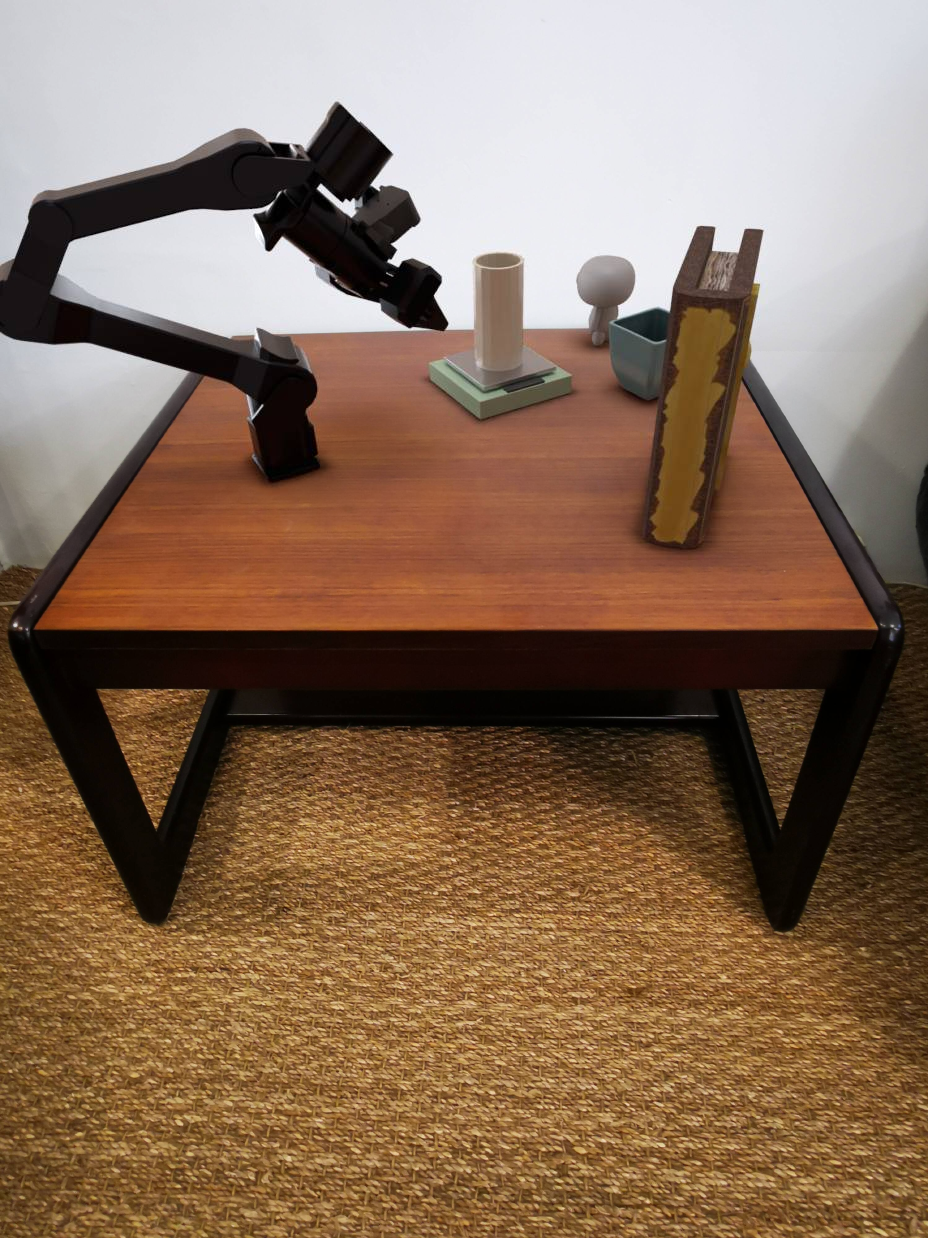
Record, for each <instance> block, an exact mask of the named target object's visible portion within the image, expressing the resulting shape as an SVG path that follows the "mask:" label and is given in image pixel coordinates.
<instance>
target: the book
mask: <svg viewBox="0 0 928 1238" xmlns="http://www.w3.org/2000/svg"><path fill="white" fill-rule="evenodd" d="M716 229H717V227H716V226H712V225H711V226H710V225H698V226H696V228H695V231H694V233H693V235H692V238H691V240H690V243H689V246H688V248H687V250H686V253H685V255H684V258H683V260H682V263H681V265H680V268H679V271H678V273H677V276H676V278H675V280H674V283H673V286H672V291H671V292H672V293H671V300H670V307H669V311H670V314H669V322H668V330H667V337H666V345H665V353H664V361H663V368H662V376H661V384H660V391H659V397H658V400H657V408H656V416H655V422H654V431H653V439H652V446H651V453H650V461H649V469H648V476H647V485H646V492H645V501H644V506H643V507H644V508H643V515H642V516H643V517H642V522H641V523H642V524H641V531H640V532H641V535H642V537H643V541H644V540H645V541H647V542H649V543H652V544H654V545H657V546H663V547H669V548H674V549H675V548H676V549H684V550H685V549H686V550H687V549H697V548H698V547H699V546H701V544H702V543H703V542H704V541H705V535H706V531H707V526H708V520H709V515H710V511H711V506H712V500H713V495H714V490H717V491H720V490H721V486H722V481H723V475H724V472H725V471H724V470H725V466H726V460H727V455H728V450H729V445H730V440H731V435H732V429H733V425H734V419H735V415H736V410H737V405H738V400H739V395H740V390H741V384H742V378H743V375H744V374H743V373H744V371H745V370H746V368H747V367H748V365H749V363H750V361H751V355H752V343H751V341H750V339H751V333H752V329H753V324H754V319H755V315H756V309H757V304H758V299H759V294H760V288H761V283H754V282H755V277H756V273H757V268H758V263H759V256H760V251H761V246H762V241H763V236H764V229H762V228H761V229H760V228H744V230H743V234H742V236H741V237H742V238H741V241H740V246H739V249H738V252H737V251H735V252H733V251H720V250H713V247H714V241H715V234H716Z"/></svg>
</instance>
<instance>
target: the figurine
mask: <svg viewBox="0 0 928 1238" xmlns="http://www.w3.org/2000/svg"><path fill="white" fill-rule="evenodd" d="M575 283H576V290H577V294H578V296H579V298H580V300H581V301H582V302H584V303H585V304H586V305H589V306H592V309H591V310H590V314H589V315H588V335H589V336H591V341H592V344H593V345H594V346H596V347H600V346H601V345H603V343H604V342H608V341H609V322H611V321H613V320H616V319H619V306H620V305H622V304H624V303H625V302H626V301H628V300H629V299H630V297H631V296H632V294H633V292H634V289H635V284H636V271H635V268H634V266H633V264H632V263H631V262H630V261H629V260H628V259H626V258H624V257H621V256H617V255H608V254H607V255H606V254H605V255H598V256H593V257H591V258H590V259H587V260H586V261H585V262H584V264H583V265H582V266H581V268H580V269H579V271H578V273H577V275H576V279H575Z"/></svg>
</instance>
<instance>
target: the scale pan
mask: <svg viewBox="0 0 928 1238" xmlns="http://www.w3.org/2000/svg"><path fill="white" fill-rule="evenodd" d="M525 346H526V345H525ZM525 346H523V362H522V364H521V365H520V366H519V367H517V368H515V369H512V370H508V371H488V370H484V369H481V368H480V367H478V366H477V365H476V363H475V348H471V349H467V350H463V351H460V352H455V353H452V354H447V355H445V356H443V359H444V361H445V362H446V363H447V364H449V365H450V366H451V367H453V368H454V369H455V370H457V371H458V372H459V373H461V374H462V375H463V376H465V377H466V378H467V379H469V380H470V381H471V382H473V383H474V384H475V385H477V386H478V387H479V388H481V389H482V390H483V391H487V390H490V389H494V388H497V387H501V386H504V385H508V384H511V383H515V382H518V381H522V380H525V379H529V378H532V377H536V376H539V375H543V374H546V373H550V372H553V371H556V366H557V365H556V364H555V365H556V366H555V365H553V364H554V363H553V362H552V363H553V364H552V363H550V362H551V361H550V360H549V361H550V362H549V361H547V360H548V359H547V360H545V359H546V358H545V357H544V358H545V359H544V358H542V357H543V356H542V355H541V356H542V357H541V356H539V355H540V354H539V353H537V352H536V353H537V354H536V353H534V352H535V351H534V350H533V351H534V352H533V351H531V350H532V349H531V348H530V349H531V350H530V349H528V348H529V347H528V346H526V347H525ZM527 347H528V348H527ZM538 354H539V355H538Z"/></svg>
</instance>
